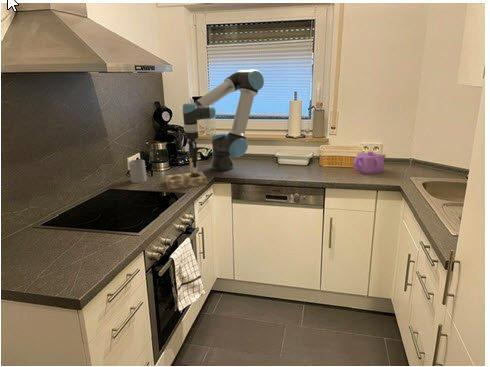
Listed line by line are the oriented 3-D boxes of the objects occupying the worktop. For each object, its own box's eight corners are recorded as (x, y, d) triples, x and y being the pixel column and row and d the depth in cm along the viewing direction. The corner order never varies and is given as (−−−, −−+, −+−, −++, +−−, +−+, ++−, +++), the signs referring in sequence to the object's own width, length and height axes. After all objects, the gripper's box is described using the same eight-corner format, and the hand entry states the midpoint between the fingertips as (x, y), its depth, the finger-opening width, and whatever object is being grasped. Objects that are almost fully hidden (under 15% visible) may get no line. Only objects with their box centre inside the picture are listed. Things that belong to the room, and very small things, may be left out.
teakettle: (352, 173, 211) (353, 154, 208) (356, 166, 226) (357, 148, 222) (382, 176, 204) (384, 156, 201) (384, 169, 219) (386, 149, 215)
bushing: (197, 176, 207) (196, 156, 203) (199, 178, 203) (197, 158, 199) (190, 177, 206) (188, 157, 202) (191, 179, 202) (190, 159, 198)
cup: (141, 183, 206) (138, 163, 203) (128, 182, 209) (125, 163, 205) (149, 178, 215) (147, 159, 211) (136, 177, 217) (134, 159, 214)
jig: (202, 177, 213) (201, 171, 212) (206, 184, 200) (206, 177, 199) (165, 182, 207) (165, 175, 206) (168, 189, 194) (167, 182, 193)
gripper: (182, 129, 203) (185, 168, 210) (187, 134, 187) (190, 176, 194) (195, 128, 205) (198, 167, 212) (200, 133, 189) (203, 174, 196)
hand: (194, 171), depth 203 cm, fingers closed on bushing, 4 cm apart
